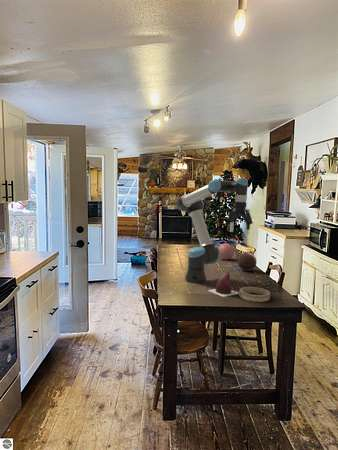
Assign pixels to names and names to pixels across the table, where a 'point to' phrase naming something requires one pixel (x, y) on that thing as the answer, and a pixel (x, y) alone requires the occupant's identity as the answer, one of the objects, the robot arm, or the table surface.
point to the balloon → (226, 251)
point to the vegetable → (224, 284)
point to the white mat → (223, 294)
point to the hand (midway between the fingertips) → (238, 233)
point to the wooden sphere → (247, 261)
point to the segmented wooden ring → (257, 298)
